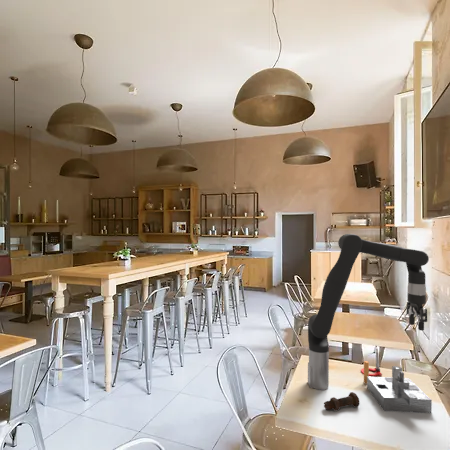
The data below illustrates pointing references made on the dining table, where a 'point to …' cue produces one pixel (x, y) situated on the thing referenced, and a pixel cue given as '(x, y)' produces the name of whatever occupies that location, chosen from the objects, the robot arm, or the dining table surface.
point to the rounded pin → (366, 371)
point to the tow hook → (376, 370)
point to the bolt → (342, 402)
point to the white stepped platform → (398, 393)
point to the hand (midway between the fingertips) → (416, 327)
